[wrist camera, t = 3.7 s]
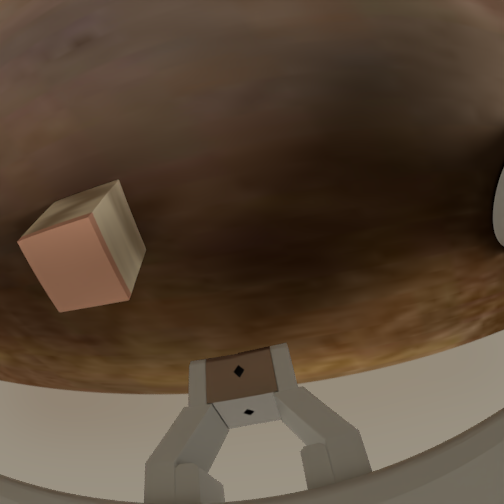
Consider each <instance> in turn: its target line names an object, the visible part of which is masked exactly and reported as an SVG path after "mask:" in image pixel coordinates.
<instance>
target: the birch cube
mask: <svg viewBox="0 0 504 504" xmlns="http://www.w3.org/2000/svg"><path fill="white" fill-rule="evenodd" d="M17 243H18V245H19V246H20V248H21V250H22V252H23V254H24V256H25V258H26V259H27V261H28V263H29V265H30V266H31V268H32V270H33V272H34V273H35V275H36V277H37V278H38V280H39V282H40V283H41V285H42V287H43V288H44V290H45V291H46V293H47V294H48V296H49V298H50V299H51V301H52V302H53V304H54V305H55V307H56V308H57V310H58V311H59V312H65V311H71V310H77V309H83V308H89V307H94V306H100V305H106V304H111V303H117V302H122V301H128V300H130V297H131V294H132V290H133V287H134V284H135V281H136V278H137V275H138V272H139V269H140V266H141V264H142V261H143V258H144V255H145V252H146V248H145V245H144V243H143V240H142V238H141V236H140V233H139V231H138V228H137V226H136V223H135V221H134V218H133V216H132V213H131V211H130V208H129V206H128V203H127V200H126V198H125V195H124V192H123V190H122V187H121V184H120V181H119V179H118V180H115V181H112V182H109V183H106V184H103V185H100V186H97V187H94V188H91V189H88V190H86V191H83V192H80V193H77V194H74V195H72V196H69V197H66V198H64V199H61V200H58V201H56V202H54V203H53V204H52V205H51V206H50V207H49V208H48V209H47V210H46V211H45V212H44V213H43V214H42V215H41V216H40V217H39V218H38V219H37V220H36V221H35V222H34V224H33V225H32V226H31V227H30V228H29V229H28V230H27V231H26V232H25V233H24V234H23V236H22V237H21V238H20V239H19V240H18V241H17Z"/></svg>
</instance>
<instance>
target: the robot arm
mask: <svg viewBox="0 0 504 504" xmlns="http://www.w3.org/2000/svg"><path fill="white" fill-rule="evenodd" d="M493 227H494V232H495V235H496V238H497V240H498V241H499V243H500V244H501V245H502V246H504V168H503V170H502V173H501V176H500V179H499V182H498V185H497V189H496V194H495V199H494V206H493ZM280 419H281V420H282V421H283V422H284V423H285V424H286V425H287V426H288V427H289V428H290V429H291V430H292V431H293V432H294V433H295V434H296V435H297V436H298V437H299V438H300V439H301V440H302V441H303V442H304V443H305V444H306V445H307V446H304V447H303V449H302V450H301V457H302V461H303V467H304V472H305V477H306V482H307V488H308V490H305V491H300V492H295V493H290V494H285V495H279V496H273V497H266V498H259V499H252V500H243V501H234V502H225V498H224V489H223V485H222V484H221V483H220V482H219V481H217V480H216V479H214V478H213V477H211V476H210V475H209V474H208V471H209V469H210V468H211V466H212V464H213V461H214V460H215V458H216V456H217V454H218V452H219V450H220V448H221V446H222V444H223V442H224V440H225V438H226V435H227V434H228V432H229V429H230V428H236V427H241V426H247V425H252V424H258V423H264V422H270V421H276V420H280ZM0 504H504V408H503V409H501V410H499V411H498V412H496V413H495V414H493V415H492V416H491V417H488V418H487V419H485V420H484V421H482V422H480V423H478V424H477V425H475V426H473V427H471V428H470V429H468V430H466V431H464V432H462V433H461V434H459V435H457V436H455V437H453V438H451V439H449V440H447V441H445V442H443V443H441V444H439V445H437V446H435V447H433V448H431V449H428V450H426V451H424V452H422V453H420V454H417V455H415V456H413V457H410V458H408V459H406V460H403V461H400V462H398V463H395V464H393V465H390V466H387V467H385V468H382V469H379V470H376V471H373V472H372V470H371V466H370V463H369V460H368V457H367V454H366V451H365V448H364V445H363V441H362V438H361V435H360V432H359V430H358V429H356V428H355V427H354V426H352V425H351V424H350V423H348V422H347V421H346V420H344V419H343V418H342V417H341V416H339V415H338V414H337V413H335V412H334V411H333V410H332V409H330V408H329V407H328V406H327V405H325V404H324V403H323V402H321V401H320V400H319V399H318V398H317V397H315V396H314V395H313V394H311V393H310V392H309V391H308V390H307V389H305V388H304V387H298V386H297V382H296V378H295V374H294V369H293V365H292V361H291V357H290V353H289V349H288V345H287V343H282V344H278V345H274V346H268V347H263V348H259V349H255V350H250V351H246V352H241V353H238V354H234V355H228V356H222V357H215V358H209V359H202V360H196V361H191V363H190V366H189V407H184V408H183V410H182V411H181V413H180V414H179V416H178V417H177V418H176V420H175V421H174V423H173V424H172V426H171V427H170V429H169V430H168V432H167V433H166V434H165V436H164V437H163V439H162V440H161V442H160V443H159V445H158V446H157V447H156V449H155V450H154V452H153V453H152V455H151V456H150V457H149V459H148V460H147V462H146V463H145V490H144V503H137V502H136V503H135V502H125V501H115V500H107V499H100V498H92V497H87V496H80V495H75V494H70V493H65V492H60V491H56V490H52V489H48V488H43V487H40V486H36V485H32V484H29V483H25V482H22V481H19V480H16V479H12V478H9V477H6V476H4V475H1V474H0Z"/></svg>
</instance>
